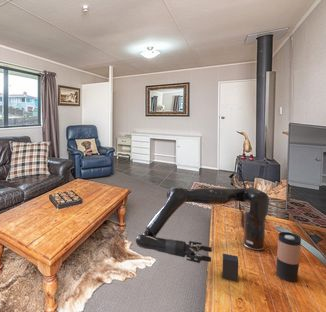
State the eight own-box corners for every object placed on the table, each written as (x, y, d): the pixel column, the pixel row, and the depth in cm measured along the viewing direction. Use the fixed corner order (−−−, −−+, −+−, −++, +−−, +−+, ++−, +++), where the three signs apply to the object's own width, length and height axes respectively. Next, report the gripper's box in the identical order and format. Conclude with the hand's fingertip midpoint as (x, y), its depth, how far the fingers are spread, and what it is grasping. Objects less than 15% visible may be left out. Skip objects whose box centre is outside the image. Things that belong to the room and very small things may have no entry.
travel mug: (277, 268, 110) (279, 230, 107) (298, 275, 105) (302, 235, 101) (274, 277, 105) (277, 236, 101) (296, 284, 99) (300, 242, 96)
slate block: (222, 272, 110) (222, 253, 109) (236, 275, 107) (237, 256, 106) (222, 278, 106) (223, 258, 105) (237, 281, 104) (238, 261, 102)
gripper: (173, 248, 110) (211, 255, 102) (177, 234, 122) (211, 239, 115) (173, 262, 111) (210, 270, 104) (177, 247, 124) (211, 253, 116)
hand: (211, 254), depth 109 cm, fingers open, 8 cm apart
